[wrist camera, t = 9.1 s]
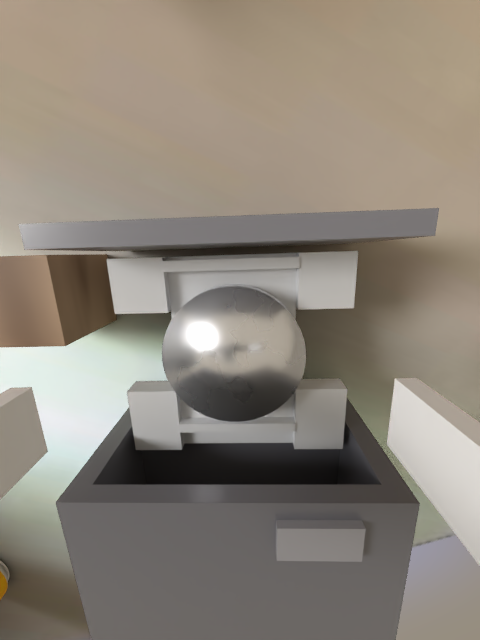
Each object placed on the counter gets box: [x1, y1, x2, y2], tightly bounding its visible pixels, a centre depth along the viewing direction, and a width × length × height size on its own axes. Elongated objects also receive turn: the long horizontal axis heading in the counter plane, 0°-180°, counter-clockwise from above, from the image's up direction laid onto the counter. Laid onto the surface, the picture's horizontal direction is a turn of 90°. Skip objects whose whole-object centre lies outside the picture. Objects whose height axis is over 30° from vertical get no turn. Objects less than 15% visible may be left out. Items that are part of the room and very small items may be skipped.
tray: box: [19, 208, 439, 450], centre depth 16 cm, size 17×14×8 cm
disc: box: [162, 284, 306, 422], centre depth 15 cm, size 8×8×2 cm
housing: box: [56, 398, 420, 640], centre depth 19 cm, size 17×14×10 cm
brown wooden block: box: [0, 255, 117, 347], centre depth 17 cm, size 5×5×6 cm
